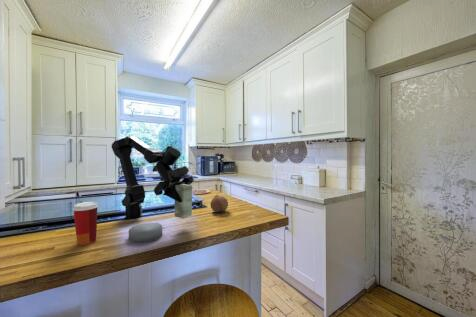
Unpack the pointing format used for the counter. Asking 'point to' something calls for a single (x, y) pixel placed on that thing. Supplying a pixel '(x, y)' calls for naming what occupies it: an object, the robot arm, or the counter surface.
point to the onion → (219, 204)
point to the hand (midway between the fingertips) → (185, 200)
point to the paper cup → (85, 222)
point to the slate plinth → (145, 232)
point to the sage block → (184, 201)
